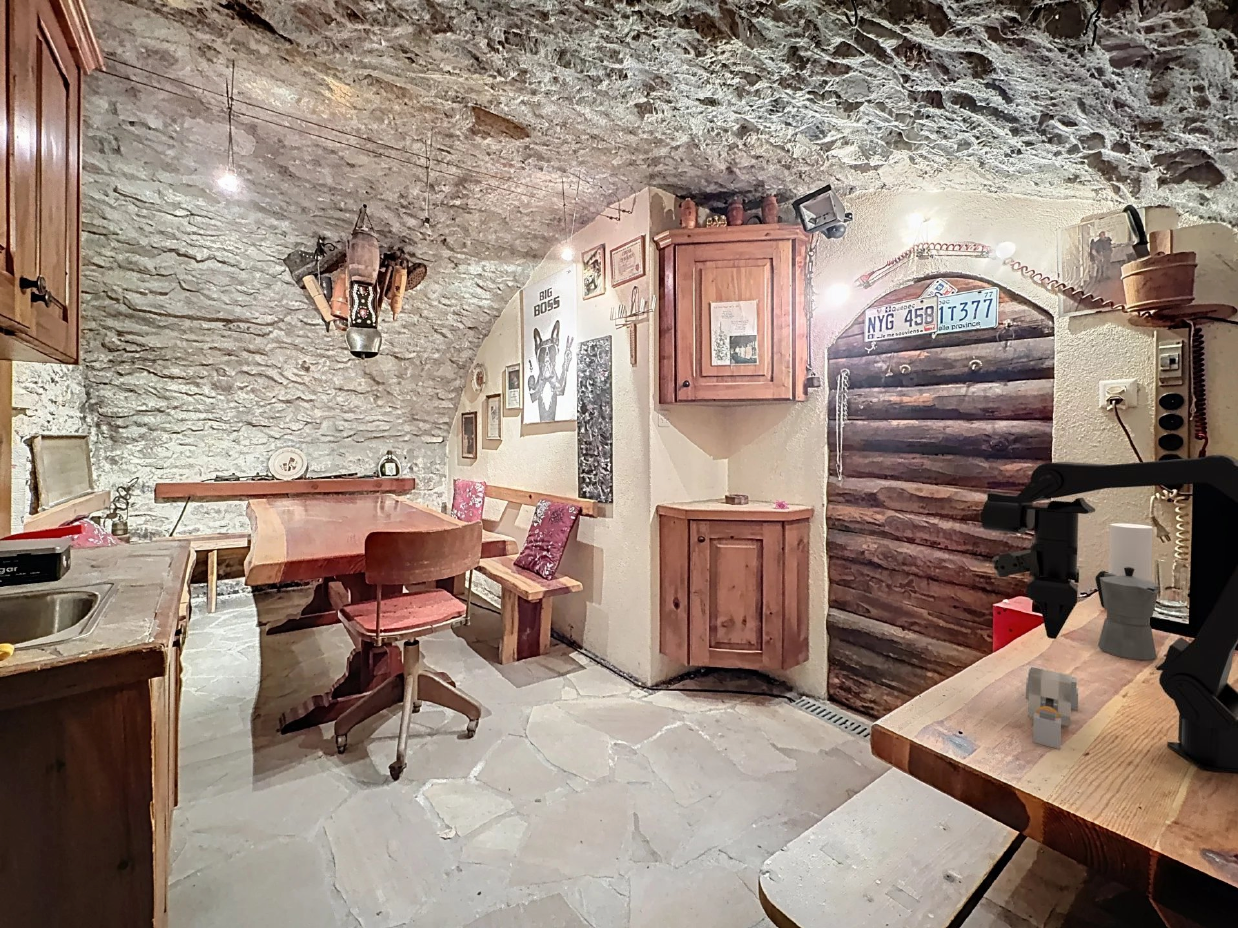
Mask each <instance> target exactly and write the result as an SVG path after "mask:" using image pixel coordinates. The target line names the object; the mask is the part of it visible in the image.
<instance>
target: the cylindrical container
mask: <svg viewBox="0 0 1238 928" xmlns="http://www.w3.org/2000/svg"><path fill="white" fill-rule="evenodd" d="M1109 525H1110V526H1109V552H1108V553H1109V557H1108V573H1113V574H1116V575H1117V576H1124V575H1125V571H1124V568H1126V567H1131V568H1133V569H1134V573H1133V577H1137V578H1141V579H1144V580H1148V581H1151V582H1152V561H1153V560H1152V559H1153V558H1152V556H1153V555H1152V554H1153V533H1154V531H1153V529H1154V527H1153V526H1150V525H1145V524H1136V523H1121V522H1120V523H1119V522H1118V523H1110V524H1109ZM1150 618H1151V617H1149V624H1150V622H1151V621H1150Z"/></svg>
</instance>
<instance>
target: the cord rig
mask: <svg viewBox="0 0 1238 928" xmlns="http://www.w3.org/2000/svg"><path fill="white" fill-rule="evenodd" d="M1030 670H1031V667H1029V669H1028V672H1027V674H1028V675H1027V679H1026V682H1025V683H1026V684H1025V685H1026V687H1025V699H1028V700H1029V674H1030ZM1077 679H1078V678H1077V677H1075V676H1072V678H1071V710H1075V711H1078V710H1079V688H1077V682H1078V681H1077ZM1042 701H1045V706H1041V707H1039V708H1038V709H1037V711H1036V713H1035V712H1034V718H1033V722H1032V723H1033V725H1032V726H1033V727H1032V728H1033V729H1032V730H1033V731H1032V732H1033V734H1032V742H1033V743H1036V744H1039V745H1044V746H1046V747H1051V748H1053V749H1058V750H1061V743H1062V742H1061V740H1062V739H1061V737H1062V736H1061V735H1062V724H1061V719H1060V717H1059V714H1058V712H1057V711H1056V710H1055V709H1053V703H1054V704H1058V700H1056V699H1051V698H1047V697H1042Z"/></svg>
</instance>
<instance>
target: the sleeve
mask: <svg viewBox="0 0 1238 928" xmlns="http://www.w3.org/2000/svg"><path fill="white" fill-rule="evenodd" d="M1030 669H1031V670H1030V674H1029V699H1028V713H1027V714H1028V717H1030V718H1033V719H1034V712H1035V713H1036V711H1037V709H1038V708H1039V707H1041V706H1045V701H1042V697H1047V698H1051V699H1056V700H1058V704H1054V703H1053V709H1055V710H1056V711H1057V712H1058V714H1059V717H1060V719H1061V726H1067V727H1071V712H1072V711H1071V710H1072V709H1071V678H1072V677H1073V676H1072V674H1068V673H1063V672H1059V671H1058V672H1057V671H1053V670H1048V669H1043V668H1039V667H1033V666H1030Z"/></svg>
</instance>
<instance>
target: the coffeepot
mask: <svg viewBox="0 0 1238 928" xmlns="http://www.w3.org/2000/svg"><path fill="white" fill-rule="evenodd" d="M1124 571H1125V575H1124V576H1117V575H1116V574H1113V573H1109V571H1107V570H1106V571H1105V570H1101V571H1099V572H1098V573H1097V574H1096V576H1095V579H1094V580H1095V584H1096V588H1097V592H1098V597H1099V602H1100V606H1101V608H1102V609H1105V611H1106V618H1104V620H1103V624H1102V628H1101V632H1100V635H1099V636H1100V637H1099V638H1098V640H1099V641H1098V644H1097V646H1098V647H1099V649H1100V650H1101V651H1102V652H1104V653H1106V654H1109V655H1112V656H1115V657H1119V658H1123V659H1129V660H1134V661H1152V660H1154V659H1156V658H1158V656H1157V650H1156V645H1155V641H1154V634H1153V630H1152V626H1151V625H1150V623H1149V617H1150V618H1153V615H1154V611H1155V607H1156V605H1157V604H1156V603H1157V599H1158V595H1159V591H1160V587H1161V585H1159V584H1158V583H1156V582H1154V581H1152V580H1151V581H1148V580H1144V579H1141V578H1137V577H1133V573H1134V569H1133V568H1131V567H1126V568H1124Z"/></svg>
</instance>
